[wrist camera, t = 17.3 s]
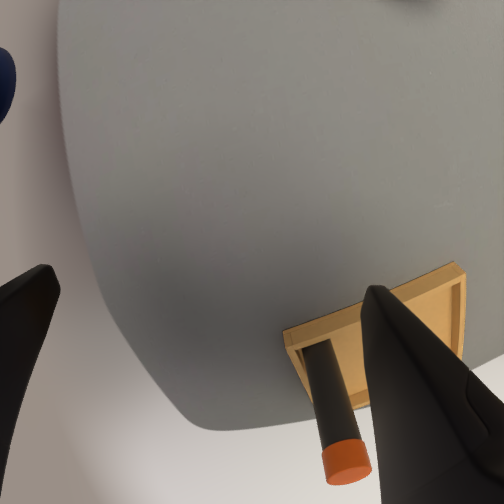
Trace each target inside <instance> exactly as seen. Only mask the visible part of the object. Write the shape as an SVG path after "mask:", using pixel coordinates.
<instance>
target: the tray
mask: <svg viewBox="0 0 504 504" xmlns="http://www.w3.org/2000/svg"><path fill="white" fill-rule="evenodd" d="M389 291H390V292H391V293H393V294H394V295H395V296H396V297H397V298H398V299H399V300H400V301H401V302H402V303H403V304H404V305H405V306H406V307H408V308H409V309H410V310H411V311H412V312H413V313H414V314H415V315H416V316H417V317H418V318H419V319H420V320H421V321H422V322H423V323H424V324H425V325H426V326H427V327H428V328H429V329H430V330H431V331H432V332H433V333H434V334H436V335H437V336H438V337H439V338H440V339H441V340H442V341H443V342H444V343H445V344H446V345H447V346H448V347H449V348H450V349H451V350H452V351H453V352H454V353H455V355H456V356H457V357H458V358H459V359H460V360H462V351H463V340H464V327H465V308H466V273H465V272H464V271H463V270H462V269H461V268H460V267H459V266H458V265H457V264H456V263H455V262H451V263H449V264H447V265H445V266H443V267H441V268H439V269H436V270H434V271H432V272H430V273H428V274H426V275H423V276H421V277H419V278H417V279H414V280H412V281H410V282H408V283H405V284H403V285H401V286H398V287H396V288H394V289H391V290H389ZM362 304H363V301H362V302H360V303H357V304H355V305H352V306H350V307H347V308H345V309H342V310H339V311H337V312H334V313H331V314H329V315H326V316H323V317H321V318H318V319H315V320H313V321H310V322H307V323H304V324H301V325H299V326H296V327H293V328H290V329H287V330H284V331H283V338H284V344H285V349H286V351H287V353H288V355H289V357H290V359H291V361H292V363H293V365H294V367H295V369H296V371H297V373H298V375H299V377H300V379H301V381H302V383H303V385H304V387H305V389H306V391H307V393H308V395H309V397H310V399H311V401H312V396H311V391H310V386H309V382H308V377H307V372H306V367H305V363H304V358H303V354H302V349H301V348H304V347H307V346H310V345H313V344H315V343H318V342H321V341H324V340H327V339H329V338H330V339H331V342H332V345H333V348H334V351H335V354H336V357H337V360H338V364H339V367H340V370H341V373H342V376H343V379H344V382H345V385H346V389H347V392H348V395H349V398H350V402H351V405H352V408H353V410H354V409H357V408H360V407H362V406H365V405H368V404H370V400H369V394H368V388H367V382H366V376H365V369H364V359H363V344H362V331H361V319H360V312H361V307H362ZM312 403H313V401H312Z"/></svg>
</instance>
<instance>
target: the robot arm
mask: <svg viewBox="0 0 504 504" xmlns="http://www.w3.org/2000/svg"><path fill="white" fill-rule="evenodd" d="M59 295H60V285H59V282H58V280H57V277H56V275H55V272H54V270H53V268H52V266H50V265H46V264H40V265H37V266H36V267H34V268H32V269H30V270H28V271H27V272H25V273H23V274H21V275H20V276H18V277H16V278H14V279H13V280H11V281H9V282H7V283H6V284H4V285H3V286H1V287H0V496H1V490H2V484H3V479H4V473H5V468H6V463H7V458H8V454H9V449H10V444H11V440H12V436H13V433H14V429H15V425H16V421H17V418H18V414H19V411H20V408H21V404H22V401H23V398H24V395H25V392H26V389H27V386H28V383H29V380H30V377H31V374H32V371H33V368H34V366H35V363H36V360H37V358H38V355H39V352H40V350H41V347H42V345H43V342H44V339H45V337H46V334H47V331H48V328H49V325H50V322H51V319H52V316H53V313H54V310H55V307H56V304H57V301H58V298H59ZM360 319H361V331H362V344H363V359H364V369H365V376H366V382H367V388H368V394H369V400H370V406H371V413H372V420H373V427H374V435H375V443H376V451H377V459H378V469H379V479H380V489H381V502H382V504H504V403H503V402H502V401H501V400H500V399H498V397H497V396H495V395H494V394H493V393H492V392H491V391H490V390H489V389H488V388H487V387H486V385H485V384H483V382H482V381H481V380H480V379H479V378H478V377H477V376H476V375H475V374H474V373H473V372H472V371H471V370H470V371H469V368H468V367H467V366H466V365H465V364H464V363H463V362H462V361H461V360H460V359H459V358H458V357H457V356H456V355H455V353H454V352H453V351H452V350H451V349H450V348H449V347H448V346H447V345H446V344H445V343H444V342H443V341H442V340H441V339H440V338H439V337H438V336H437V335H436V334H434V333H433V332H432V331H431V330H430V329H429V328H428V327H427V326H426V325H425V324H424V323H423V322H422V321H421V320H420V319H419V318H418V317H417V316H416V315H415V314H414V313H413V312H412V311H411V310H410V309H409V308H408V307H406V306H405V305H404V304H403V303H402V302H401V301H400V300H399V299H398V298H397V297H396V296H395V295H394V294H393V293H391V292H390V291H389V290H388V289H387V288H386V287H385V286H382V285H370V286H369V287H368V288H367V291H366V294H365V297H364V301H363V304H362V307H361V312H360Z"/></svg>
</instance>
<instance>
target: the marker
mask: <svg viewBox="0 0 504 504" xmlns="http://www.w3.org/2000/svg"><path fill="white" fill-rule="evenodd" d="M301 349H302V354H303V358H304V363H305V367H306V372H307V377H308V382H309V386H310V391H311V396H312V401H313V406H314V410H315V415H316V420H317V425H318V430H319V435H320V440H321V445H322V450H323V452H322V459H323V465H324V470H325V475H326V481H327V483H328V484H330V485H345V484H349V483H353V482H356V481H359V480H361V479H363V478H365V477H366V476H368V475H369V474H370V472H371V471H372V467H371V464H370V460H369V456H368V453H367V449H366V446H365V443H364V442H363V441H362V438H361V435H360V432H359V428H358V425H357V422H356V418H355V415H354V411H353V408H352V405H351V402H350V398H349V395H348V392H347V389H346V385H345V382H344V379H343V376H342V373H341V370H340V367H339V364H338V360H337V357H336V354H335V351H334V348H333V345H332V342H331V339H330V338H329V339H327V340H324V341H321V342H318V343H315V344H313V345H310V346H307V347H304V348H301Z"/></svg>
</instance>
